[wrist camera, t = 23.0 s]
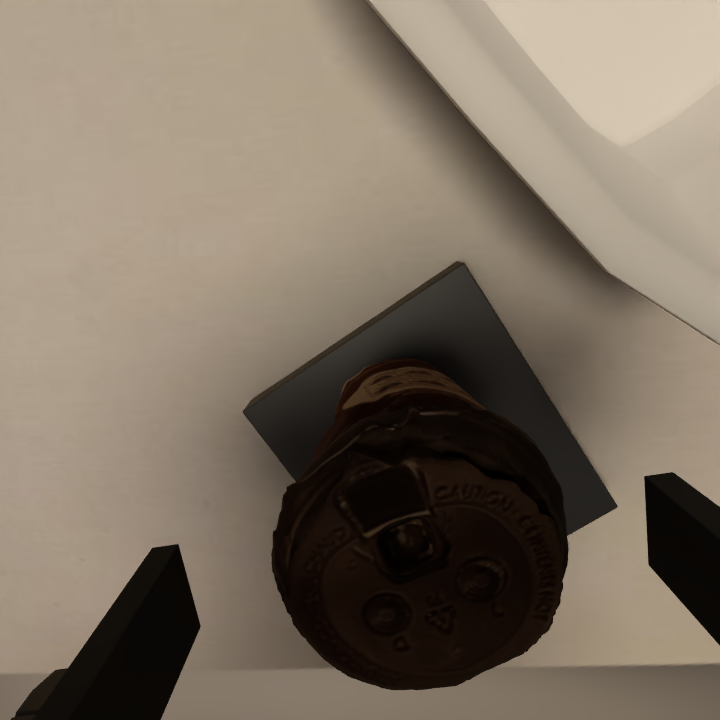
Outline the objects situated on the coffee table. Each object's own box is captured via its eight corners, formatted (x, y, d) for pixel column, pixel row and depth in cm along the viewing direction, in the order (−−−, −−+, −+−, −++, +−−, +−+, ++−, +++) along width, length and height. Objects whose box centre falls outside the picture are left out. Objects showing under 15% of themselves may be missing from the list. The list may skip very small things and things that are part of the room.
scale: (603, 492, 28) (635, 526, 25) (405, 604, 30) (410, 651, 27) (457, 260, 26) (470, 264, 22) (250, 400, 28) (233, 423, 24)
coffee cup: (340, 307, 24) (308, 380, 12) (508, 352, 25) (653, 469, 12) (298, 471, 26) (231, 686, 14) (454, 511, 27) (530, 755, 14)
